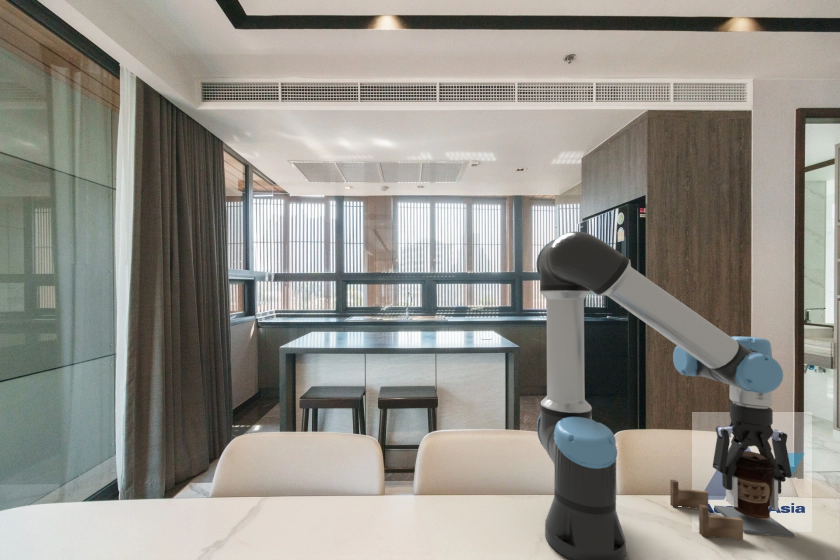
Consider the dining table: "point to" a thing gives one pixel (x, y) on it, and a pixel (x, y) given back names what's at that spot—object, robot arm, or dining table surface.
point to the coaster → (756, 523)
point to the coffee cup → (754, 484)
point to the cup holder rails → (706, 513)
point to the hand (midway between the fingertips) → (751, 505)
